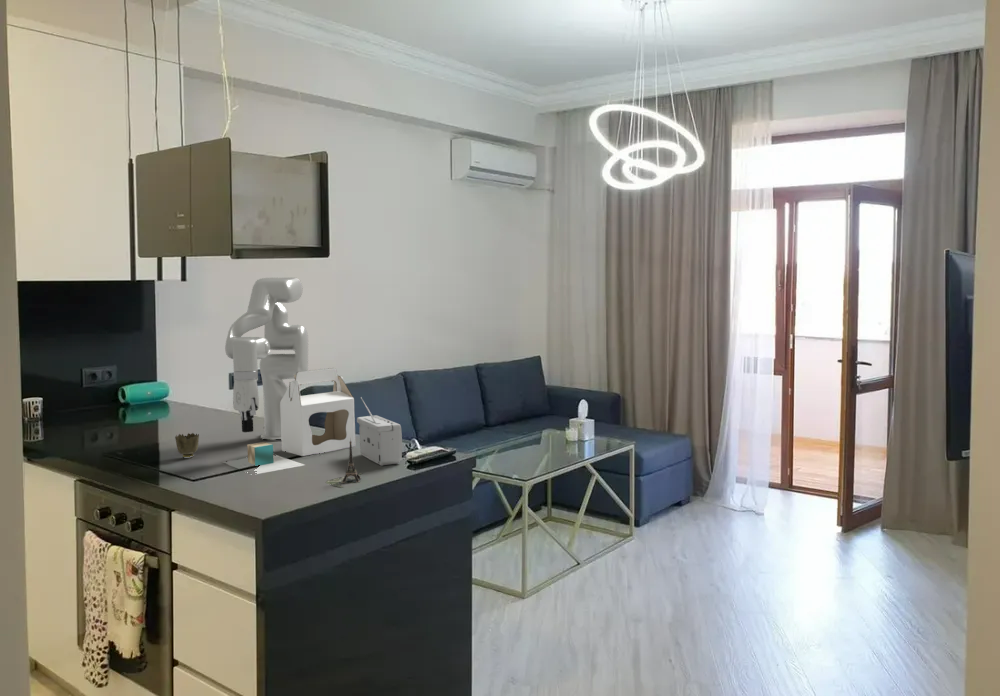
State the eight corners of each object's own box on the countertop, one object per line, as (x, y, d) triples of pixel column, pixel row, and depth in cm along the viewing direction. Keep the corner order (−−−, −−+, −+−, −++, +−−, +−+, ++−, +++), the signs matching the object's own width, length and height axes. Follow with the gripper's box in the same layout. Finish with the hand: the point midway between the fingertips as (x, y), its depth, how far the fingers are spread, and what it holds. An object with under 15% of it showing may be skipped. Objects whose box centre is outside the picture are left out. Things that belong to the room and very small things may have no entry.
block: (247, 444, 257) (255, 447, 253) (264, 442, 261) (272, 444, 257) (247, 462, 258) (255, 466, 254) (265, 459, 262) (273, 463, 257)
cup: (199, 455, 272) (198, 432, 271) (201, 459, 265) (199, 435, 265) (175, 457, 269) (174, 434, 268) (176, 461, 262) (175, 437, 261)
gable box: (334, 441, 292) (332, 365, 290) (356, 446, 283) (354, 368, 281) (280, 451, 276) (277, 371, 274) (302, 457, 267) (299, 374, 265)
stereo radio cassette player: (403, 464, 255) (402, 402, 253) (379, 467, 251) (377, 404, 249) (379, 452, 273) (378, 394, 271) (356, 455, 269) (355, 396, 267)
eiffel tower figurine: (360, 474, 245) (359, 431, 244) (381, 479, 238) (380, 435, 237) (319, 484, 234) (318, 439, 232) (341, 489, 227) (340, 443, 226)
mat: (219, 462, 260) (219, 461, 260) (271, 454, 272) (271, 453, 272) (252, 475, 242) (252, 474, 242) (305, 465, 254) (305, 465, 254)
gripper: (225, 375, 264) (227, 430, 266) (244, 378, 253) (246, 435, 255) (246, 374, 270) (248, 427, 271) (266, 376, 258) (268, 433, 260)
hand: (247, 431), depth 263 cm, fingers closed
